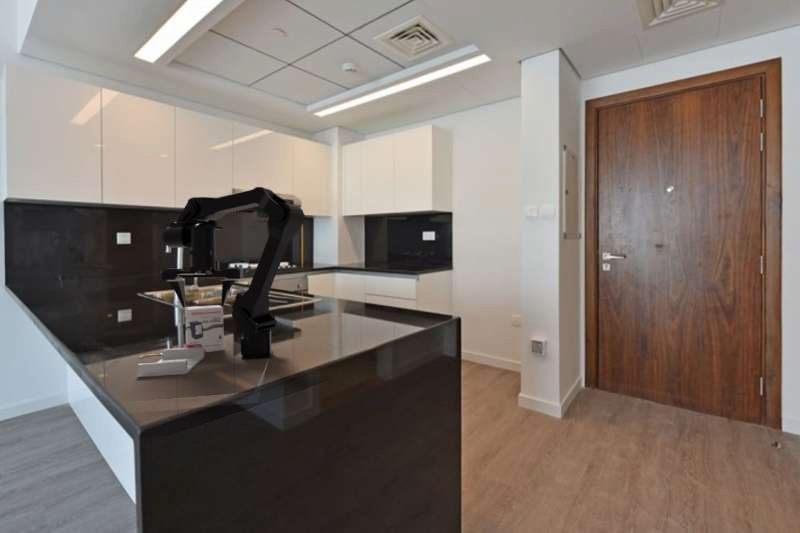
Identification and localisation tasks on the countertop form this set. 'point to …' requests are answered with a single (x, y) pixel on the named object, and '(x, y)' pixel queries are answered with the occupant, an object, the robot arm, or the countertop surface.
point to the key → (149, 355)
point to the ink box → (205, 327)
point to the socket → (173, 362)
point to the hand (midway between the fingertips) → (203, 307)
